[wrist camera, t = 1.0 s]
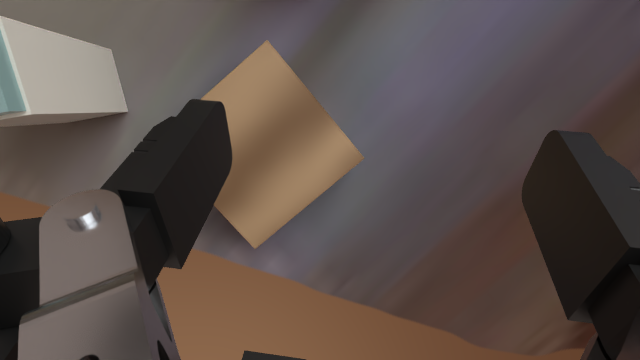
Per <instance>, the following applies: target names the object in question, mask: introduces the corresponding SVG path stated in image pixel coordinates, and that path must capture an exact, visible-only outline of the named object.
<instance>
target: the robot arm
mask: <svg viewBox="0 0 640 360" xmlns="http://www.w3.org/2000/svg"><path fill="white" fill-rule="evenodd" d="M231 166H232V147H231V141H230V135H229V129H228V123H227V117H226V111H225V107H224V105H223V103H222V102H220V101H209V100H198V99H191V100H190V101H189V102H188V103H187V104H186V106H185V107H184V108H183V109H182V110H181V112H180V113H179V114H178V115H177V117H172V116H171V117H169V118H168V119H166V120H164V121H163V122H161V123H159V124H157V125H156V126H154V127H153V128H152V129H151V131H150V132H149V133H148V134H147V135H146V136H145V138H144V139H143V142H140V143H139V144H138V146H137V147H136V148H135V149H134V152H132V153H131V154H130V155H129V156H128V157H127V158H126V159H125V161H124V162H123V163H122V164H121V165H120V166H119V168H118V169H117V170H116V171H115V172H114V173H113V174H112V176H111V177H110V178H109V179H108V180H107V181H106V183H105V184H104V185H103V186H102V187H101V188H100V189H92V190H86V191H82V192H78V193H75V194H72V195H70V196H68V197H65V198H64V199H62V200H60V201H58V202H57V203H56V204H54V205H53V206H52V207H51V208H49V209H48V211H47V212H46V213H45V214H44V216H43V217H39V218H31V219H23V220H16V221H8V222H3V221H2V220H1V218H0V360H181V359H180V356H179V353H178V350H177V346H176V343H175V340H174V336H173V332H172V329H171V326H170V322H169V318H168V315H167V311H166V308H165V304H164V301H163V297H162V293H161V290H160V286H159V284H158V281H157V277H158V275H159V273H160V271H161V269H162V268H163V267H169V268H177V269H182V267H183V265H184V263H185V261H186V259H187V257H188V255H189V253H190V251H191V249H192V247H193V245H194V243H195V241H196V239H197V237H198V235H199V233H200V231H201V229H202V227H203V225H204V223H205V221H206V219H207V217H208V215H209V213H210V211H211V209H212V207H213V205H214V203H215V201H216V199H217V197H218V195H219V193H220V191H221V189H222V187H223V185H224V183H225V181H226V179H227V177H228V175H229V173H230V170H231ZM522 202H523V206H524V208H525V211H526V213H527V216H528V218H529V221H530V224H531V226H532V229H533V231H534V234H535V237H536V239H537V242H538V244H539V247H540V249H541V252H542V255H543V257H544V260H545V262H546V265H547V268H548V270H549V273H550V275H551V278H552V280H553V283H554V286H555V288H556V291H557V293H558V296H559V299H560V301H561V304H562V306H563V309H564V311H565V314H566V317H567V319H568V320H571V321H579V322H587V323H593V324H594V326H595V329H596V331H597V333H596V334H595V335H594V336H593V337H592V338H591V339H590V340H589V342H588V344H587V346H586V348H585V351H584V353H583V355H582V357H581V359H580V360H640V183H639V182H638V181H637V179H636V178H635V177H634V176H633V174H632V173H631V172H630V171H629V170H628V169H626V168H625V167H624V166H622V165H621V164H620V163H618V162H617V161H616V160H614V159H613V158H611V157H610V156H607V155H606V154H605V153H604V151H603V150H602V149H601V147H600V146H599V144H598V143H597V142H596V140H595V139H594V138H593V136H592V135H591V134H589V133H582V132H570V131H558V130H553V131H551V132H549V133H548V134H547V136H546V137H545V139H544V141H543V143H542V145H541V147H540V149H539V151H538V153H537V155H536V157H535V159H534V161H533V163H532V166H531V168H530V170H529V172H528V174H527V176H526V178H525V180H524V183H523V187H522ZM242 360H305V359H299V358H292V357H285V356H279V355H272V354H265V353H258V352H251V351H244V354H243V358H242Z"/></svg>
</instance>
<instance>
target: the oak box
mask: <svg viewBox="0 0 640 360" xmlns="http://www.w3.org/2000/svg"><path fill="white" fill-rule="evenodd" d="M200 100H209V101H220V102H222V103H223V105H224V107H225V111H226V117H227V123H228V129H229V135H230V141H231V147H232V166H231V170H230V173H229V175H228V177H227V179H226V181H225V183H224V185H223V187H222V189H221V191H220V193H219V195H218V197H217V199H216V201H215V203H214V206H215V207H216V208H217V209H218V210H219V211H220V212H221V214H222V215H223V216H224V217H225V218H226V219H227V220H228V221H229V222H230V223H231V224H232V225H233V226H234V227H235V228H236V229H237V231H238V232H239V233H240V234H241V235H242V236H243V237H244V238H245V239H246V240H247V241H248V242H249V243H250V244H251V245H252V246H253V248H254V249H256V248H257V247H258V246H259V245H261V244H262V243H263V242H264V241H265V240H267V239H268V238H269V237H270V236H271V235H273V234H274V233H275V232H276V231H277V230H279V229H280V228H281V227H282V226H283V225H285V224H286V223H287V222H288V221H289V220H291V219H292V218H293V217H294V216H295V215H297V214H298V213H299V212H300V211H302V210H303V209H304V208H305V207H306V206H308V205H309V204H310V203H311V202H312V201H314V200H315V199H316V198H317V197H318V196H320V195H321V194H322V193H323V192H324V191H326V190H327V189H328V188H329V187H330V186H332V185H333V184H334V183H335V182H336V181H338V180H339V179H340V178H341V177H342V176H344V175H345V174H346V173H347V172H348V171H350V170H351V169H352V168H353V167H355V166H356V165H357V164H358V163H359V162H361V161H362V160H363V159H364V157H363V156H362V155H361V153H360V152H359V151H358V150H357V149H356V147H355V146H354V145H353V144H352V142H351V141H350V140H349V139H348V138H347V136H346V135H345V134H344V133H343V132H342V130H341V129H340V128H339V127H338V125H337V124H336V123H335V122H334V121H333V119H332V118H331V117H330V116H329V114H328V113H327V112H326V111H325V110H324V108H323V107H322V106H321V105H320V104H319V102H318V101H317V100H316V99H315V97H314V96H313V95H312V94H311V93H310V91H309V90H308V89H307V88H306V87H305V85H304V84H303V83H302V82H301V80H300V79H299V78H298V77H297V76H296V74H295V73H294V72H293V71H292V69H291V68H290V67H289V66H288V65H287V63H286V62H285V61H284V60H283V59H282V57H281V56H280V55H279V54H278V52H277V51H276V50H275V49H274V48H273V46H272V45H271V44H270V43H269V42H268V40H267V41H265V42H264V43H263V44H262V45H261V46H260V47H259V48H258V49H256V50H255V51H254V52H253V53H252V54H251V55H250V56H249V57H247V58H246V59H245V60H244V61H243V62H242V63H241V64H240V65H238V66H237V67H236V68H235V69H234V70H233V71H232V72H231V73H229V74H228V75H227V76H226V77H225V78H224V79H223V80H222V81H220V82H219V83H218V84H217V85H216V86H215V87H214V88H213V89H211V90H210V91H209V92H208V93H207V94H206V95H205V96H204V97H203V98H201V99H200Z"/></svg>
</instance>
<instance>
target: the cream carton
mask: <svg viewBox="0 0 640 360" xmlns="http://www.w3.org/2000/svg"><path fill="white" fill-rule="evenodd" d="M124 112H128V109H127V106H126V102H125V98H124V95H123V91H122V87H121V83H120V80H119V76H118V72H117V69H116V65H115V61H114V58H113V54H112V50H111V49H108V48H104V47H101V46H98V45H95V44H91V43H88V42H85V41H81V40H78V39H75V38H71V37H68V36H65V35H62V34H58V33H55V32H52V31H48V30H45V29H42V28H38V27H35V26H32V25H29V24H25V23H22V22H19V21H15V20H12V19H9V18H6V17H2V16H0V127H7V126H22V125H37V124H53V123H68V122H74V121H79V120H85V119H91V118H96V117H102V116H107V115H113V114H119V113H124Z"/></svg>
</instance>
